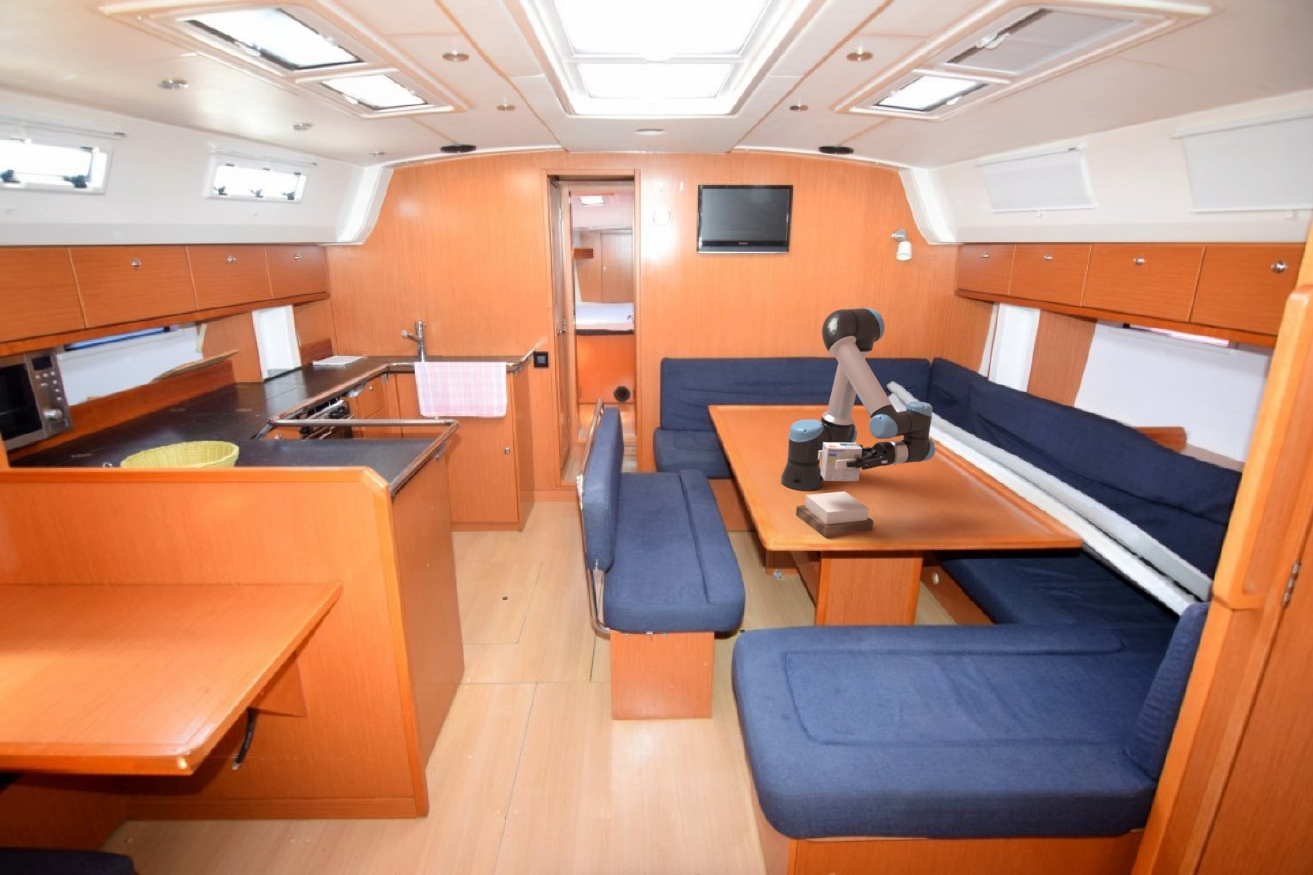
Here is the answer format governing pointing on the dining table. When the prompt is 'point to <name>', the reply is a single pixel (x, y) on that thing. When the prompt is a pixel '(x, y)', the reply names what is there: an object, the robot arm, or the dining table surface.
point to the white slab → (836, 507)
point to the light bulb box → (839, 452)
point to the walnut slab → (832, 529)
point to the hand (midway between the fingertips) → (827, 459)
